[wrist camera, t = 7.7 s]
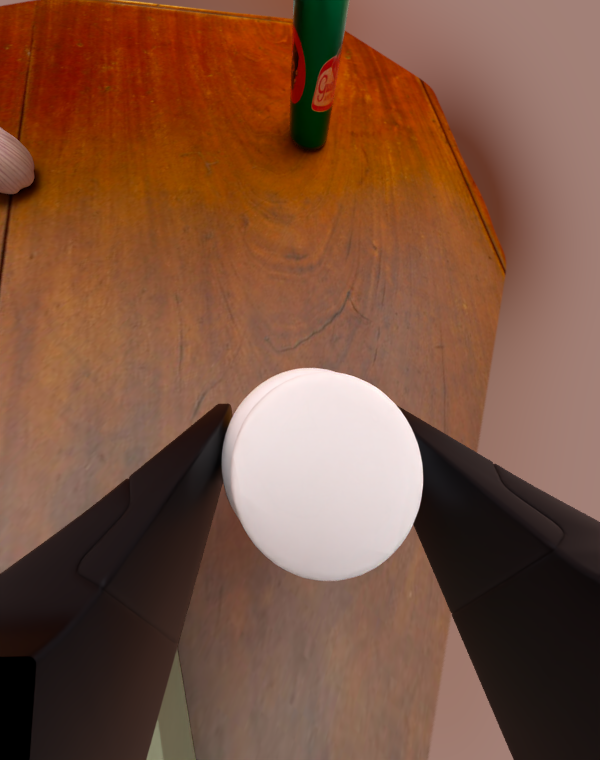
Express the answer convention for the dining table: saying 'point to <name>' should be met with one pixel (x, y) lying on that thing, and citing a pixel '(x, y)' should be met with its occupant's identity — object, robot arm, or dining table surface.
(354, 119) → the dining table surface
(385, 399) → the supplement bottle
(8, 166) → the garlic bulb
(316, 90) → the soda can
